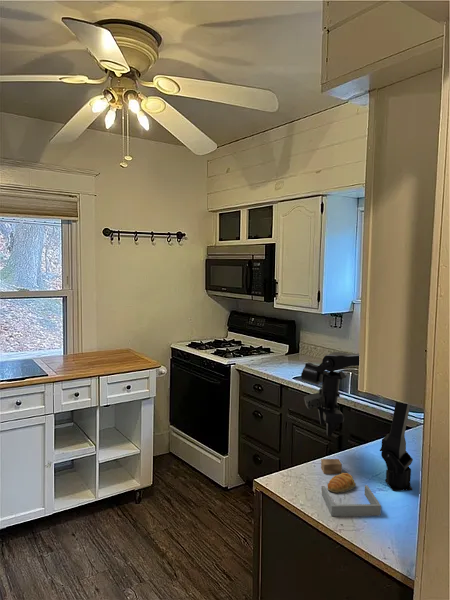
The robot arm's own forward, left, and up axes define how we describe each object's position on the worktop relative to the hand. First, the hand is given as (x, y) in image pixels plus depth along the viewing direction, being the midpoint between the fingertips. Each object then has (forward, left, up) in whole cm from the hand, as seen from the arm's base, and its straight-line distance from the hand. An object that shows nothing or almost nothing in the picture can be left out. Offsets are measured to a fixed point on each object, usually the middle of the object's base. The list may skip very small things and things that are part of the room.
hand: (325, 430), depth 162 cm
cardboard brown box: (-1, +6, -12) cm, 14 cm away
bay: (-1, +27, -12) cm, 30 cm away
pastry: (-1, +17, -12) cm, 21 cm away
